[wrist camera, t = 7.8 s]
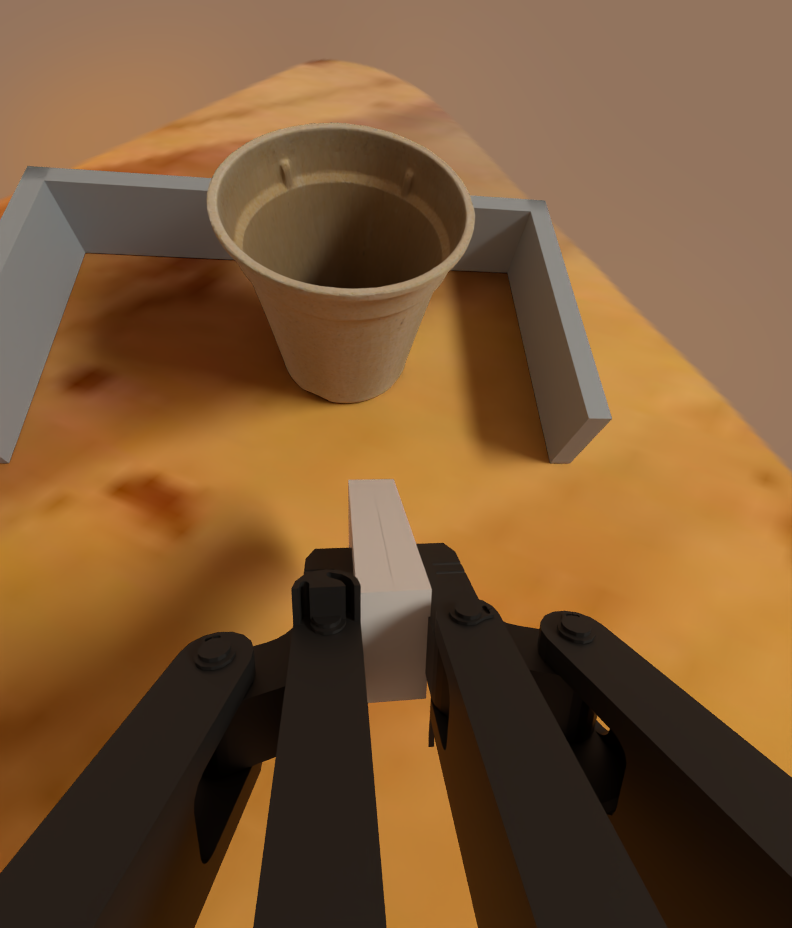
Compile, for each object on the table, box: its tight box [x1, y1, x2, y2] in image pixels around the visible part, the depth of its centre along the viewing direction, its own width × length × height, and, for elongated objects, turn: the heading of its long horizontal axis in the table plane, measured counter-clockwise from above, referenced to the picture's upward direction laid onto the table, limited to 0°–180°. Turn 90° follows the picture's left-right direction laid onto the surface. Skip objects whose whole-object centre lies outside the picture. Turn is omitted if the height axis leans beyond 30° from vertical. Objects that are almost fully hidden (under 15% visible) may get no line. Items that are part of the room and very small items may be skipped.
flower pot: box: [207, 122, 475, 403], centre depth 20 cm, size 9×9×9 cm
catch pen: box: [0, 166, 612, 463], centre depth 23 cm, size 26×14×4 cm, turn 93°
